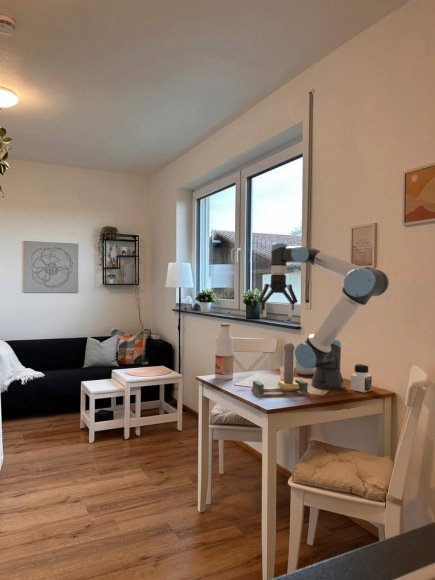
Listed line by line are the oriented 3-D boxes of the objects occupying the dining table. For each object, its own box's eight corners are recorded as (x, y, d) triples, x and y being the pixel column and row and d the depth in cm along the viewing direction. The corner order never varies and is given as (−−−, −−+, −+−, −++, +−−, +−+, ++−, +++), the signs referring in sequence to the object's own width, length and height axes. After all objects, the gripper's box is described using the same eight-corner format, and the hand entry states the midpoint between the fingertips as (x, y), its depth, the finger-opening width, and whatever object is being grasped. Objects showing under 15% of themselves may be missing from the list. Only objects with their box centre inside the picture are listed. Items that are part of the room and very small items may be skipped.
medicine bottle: (364, 392, 196) (365, 366, 196) (350, 390, 201) (350, 364, 201) (371, 390, 201) (372, 364, 201) (357, 387, 206) (357, 362, 206)
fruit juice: (230, 380, 216) (231, 325, 215) (212, 379, 218) (213, 324, 218) (235, 376, 225) (236, 323, 224) (217, 375, 227) (218, 322, 227)
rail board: (298, 389, 201) (298, 378, 201) (309, 395, 189) (309, 384, 189) (251, 390, 195) (251, 379, 195) (259, 397, 184) (259, 385, 184)
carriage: (292, 385, 197) (293, 341, 197) (298, 388, 190) (299, 343, 190) (278, 385, 196) (279, 341, 195) (283, 389, 189) (284, 343, 189)
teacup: (313, 376, 230) (314, 361, 230) (293, 374, 233) (293, 360, 233) (316, 371, 243) (316, 357, 243) (297, 370, 246) (297, 356, 246)
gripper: (298, 275, 221) (297, 316, 221) (252, 273, 215) (251, 316, 216) (304, 274, 214) (303, 317, 214) (257, 273, 208) (256, 317, 208)
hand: (277, 316), depth 215 cm, fingers open, 13 cm apart
